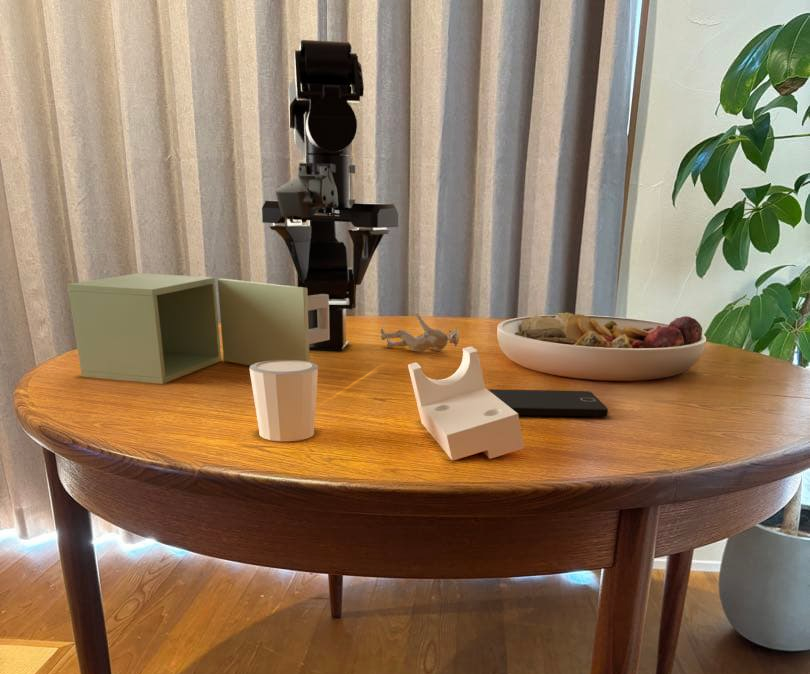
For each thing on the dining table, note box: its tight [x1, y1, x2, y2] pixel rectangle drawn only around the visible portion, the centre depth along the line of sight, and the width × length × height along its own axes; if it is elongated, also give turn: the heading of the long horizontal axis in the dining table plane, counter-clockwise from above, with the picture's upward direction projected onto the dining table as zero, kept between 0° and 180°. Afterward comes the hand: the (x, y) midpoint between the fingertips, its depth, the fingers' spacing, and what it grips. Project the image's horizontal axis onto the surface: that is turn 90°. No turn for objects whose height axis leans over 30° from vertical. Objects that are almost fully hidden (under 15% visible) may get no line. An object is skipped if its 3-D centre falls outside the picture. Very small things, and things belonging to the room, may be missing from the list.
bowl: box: [496, 311, 707, 382], centre depth 113 cm, size 30×30×8 cm
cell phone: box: [486, 388, 609, 418], centre depth 90 cm, size 9×18×1 cm, turn 91°
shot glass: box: [249, 360, 319, 442], centre depth 78 cm, size 7×7×7 cm
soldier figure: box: [380, 313, 460, 353], centre depth 120 cm, size 8×5×12 cm
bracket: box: [407, 345, 525, 461], centre depth 77 cm, size 13×7×8 cm, turn 12°
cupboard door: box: [217, 278, 330, 367], centre depth 107 cm, size 7×16×11 cm, turn 56°
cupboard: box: [67, 272, 222, 385], centre depth 103 cm, size 12×16×12 cm
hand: (329, 282), depth 105 cm, fingers open, 9 cm apart
